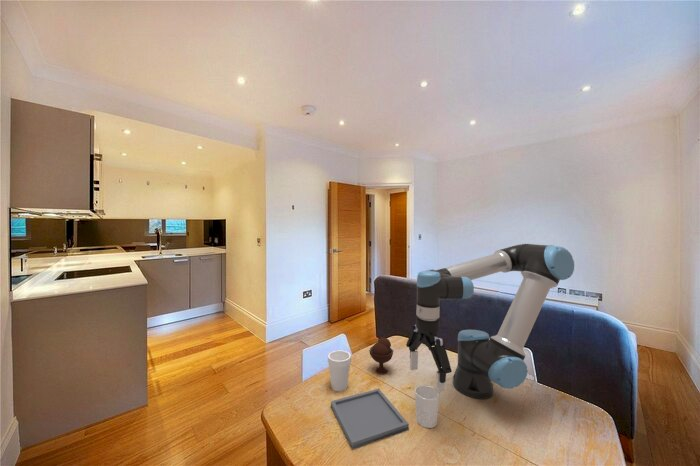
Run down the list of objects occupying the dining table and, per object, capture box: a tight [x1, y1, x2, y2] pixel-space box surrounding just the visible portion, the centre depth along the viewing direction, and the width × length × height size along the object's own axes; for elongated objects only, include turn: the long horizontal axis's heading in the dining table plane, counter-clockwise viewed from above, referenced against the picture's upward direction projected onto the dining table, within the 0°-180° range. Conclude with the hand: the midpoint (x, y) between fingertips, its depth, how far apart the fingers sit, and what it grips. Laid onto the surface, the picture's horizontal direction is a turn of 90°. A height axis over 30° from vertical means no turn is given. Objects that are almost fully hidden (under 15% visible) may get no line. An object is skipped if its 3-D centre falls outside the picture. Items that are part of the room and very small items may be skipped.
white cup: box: [414, 384, 440, 429], centre depth 89 cm, size 8×8×10 cm
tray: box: [330, 388, 410, 450], centre depth 90 cm, size 20×20×2 cm
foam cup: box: [327, 349, 352, 392], centre depth 107 cm, size 10×9×13 cm
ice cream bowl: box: [368, 337, 394, 375], centre depth 119 cm, size 11×11×15 cm
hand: (426, 379), depth 88 cm, fingers open, 13 cm apart
